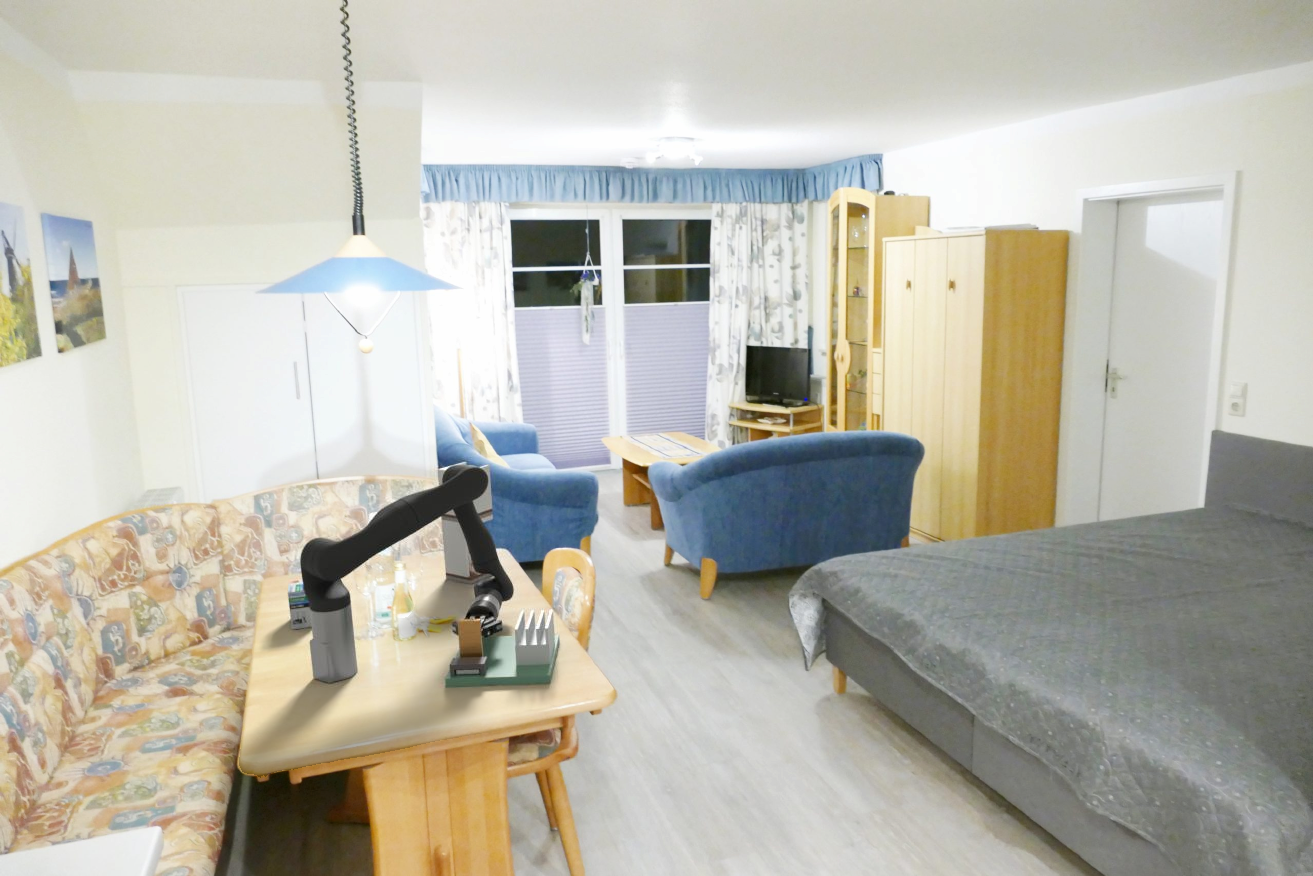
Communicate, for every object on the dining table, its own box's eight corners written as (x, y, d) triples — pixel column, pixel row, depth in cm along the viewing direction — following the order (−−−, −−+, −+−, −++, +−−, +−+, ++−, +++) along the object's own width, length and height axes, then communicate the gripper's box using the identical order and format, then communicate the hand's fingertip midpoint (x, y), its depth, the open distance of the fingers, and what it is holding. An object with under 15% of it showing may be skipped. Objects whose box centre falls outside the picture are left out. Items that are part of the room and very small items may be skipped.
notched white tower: (470, 584, 278) (462, 472, 272) (446, 578, 284) (437, 469, 278) (496, 573, 288) (489, 465, 281) (472, 568, 293) (464, 462, 287)
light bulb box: (317, 626, 248) (313, 589, 247) (291, 630, 246) (286, 592, 244) (318, 613, 258) (314, 577, 256) (292, 617, 256) (288, 580, 254)
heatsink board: (465, 644, 233) (462, 603, 231) (559, 641, 233) (557, 600, 231) (445, 687, 210) (442, 642, 208) (550, 683, 210) (547, 638, 208)
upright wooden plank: (461, 663, 216) (458, 619, 214) (483, 662, 216) (480, 618, 214) (456, 674, 211) (453, 629, 208) (479, 673, 211) (476, 628, 209)
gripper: (456, 600, 232) (441, 626, 215) (508, 598, 232) (497, 624, 215) (458, 628, 233) (443, 656, 216) (510, 626, 233) (499, 654, 216)
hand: (470, 640), depth 215 cm, fingers closed
